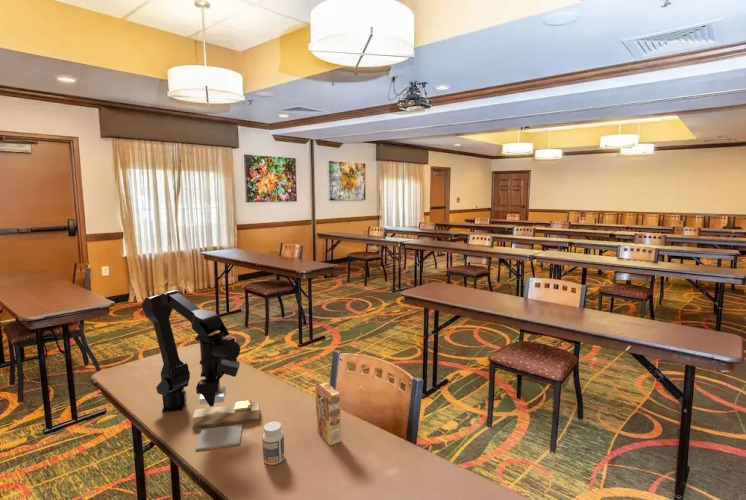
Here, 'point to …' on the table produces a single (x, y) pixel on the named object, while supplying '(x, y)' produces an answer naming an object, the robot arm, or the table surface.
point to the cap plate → (218, 396)
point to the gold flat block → (243, 405)
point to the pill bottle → (273, 443)
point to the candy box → (328, 413)
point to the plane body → (224, 415)
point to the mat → (219, 437)
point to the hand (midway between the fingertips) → (213, 400)
